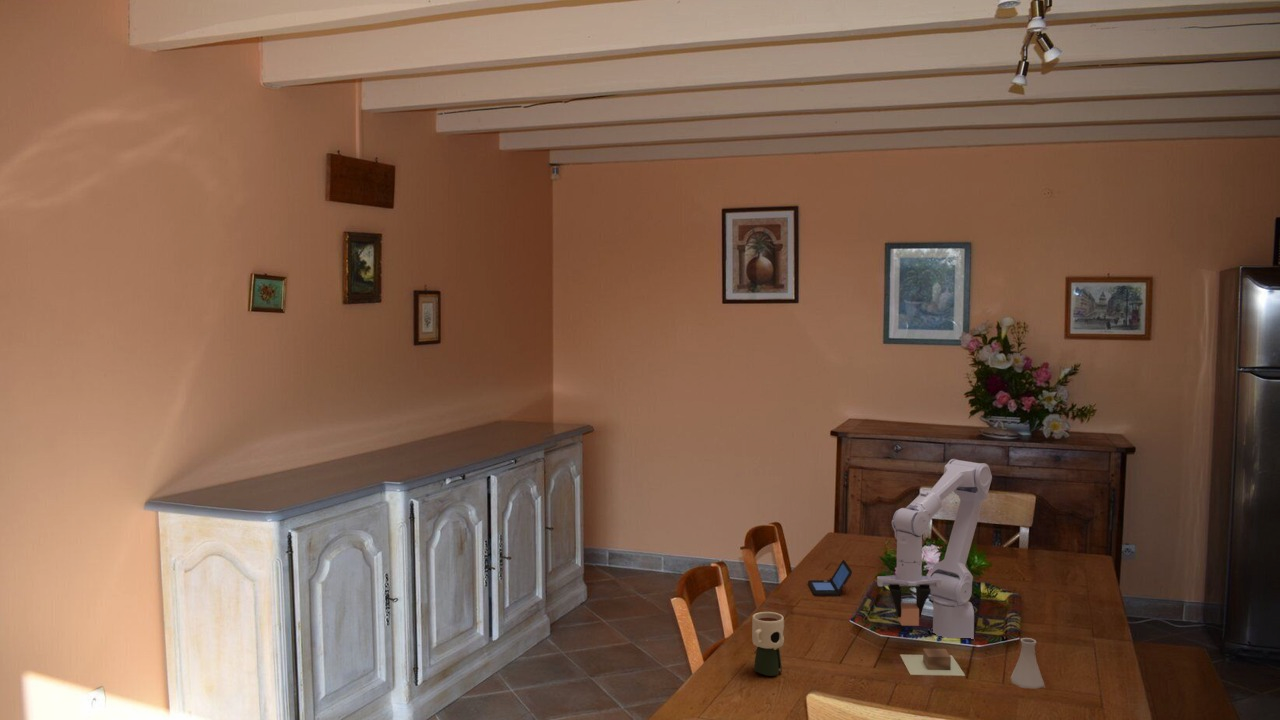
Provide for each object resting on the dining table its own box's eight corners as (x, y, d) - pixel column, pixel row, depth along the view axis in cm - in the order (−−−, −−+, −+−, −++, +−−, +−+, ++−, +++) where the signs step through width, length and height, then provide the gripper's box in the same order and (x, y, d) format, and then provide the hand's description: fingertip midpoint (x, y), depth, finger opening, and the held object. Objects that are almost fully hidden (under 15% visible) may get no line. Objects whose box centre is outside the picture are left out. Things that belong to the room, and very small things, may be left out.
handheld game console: (807, 584, 288) (807, 559, 288) (844, 584, 288) (844, 559, 288) (814, 597, 276) (814, 571, 275) (852, 597, 276) (852, 571, 275)
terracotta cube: (915, 619, 235) (915, 603, 234) (918, 625, 231) (919, 609, 230) (898, 619, 235) (898, 603, 235) (901, 625, 231) (901, 608, 231)
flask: (1003, 679, 217) (1004, 635, 217) (1035, 677, 218) (1036, 633, 217) (1019, 692, 210) (1020, 646, 209) (1051, 691, 211) (1052, 645, 210)
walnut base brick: (945, 661, 226) (945, 648, 226) (950, 670, 221) (950, 657, 221) (923, 661, 226) (923, 648, 226) (927, 669, 221) (928, 656, 221)
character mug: (769, 684, 215) (769, 626, 214) (741, 676, 220) (741, 620, 219) (793, 669, 224) (793, 613, 223) (766, 661, 228) (766, 607, 227)
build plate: (951, 657, 230) (951, 655, 230) (965, 678, 218) (965, 675, 218) (899, 656, 231) (899, 654, 231) (910, 677, 219) (910, 674, 219)
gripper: (881, 564, 228) (880, 621, 229) (944, 564, 227) (943, 622, 228) (875, 555, 235) (875, 611, 236) (937, 556, 234) (936, 612, 235)
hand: (908, 615), depth 233 cm, fingers closed on terracotta cube, 4 cm apart
